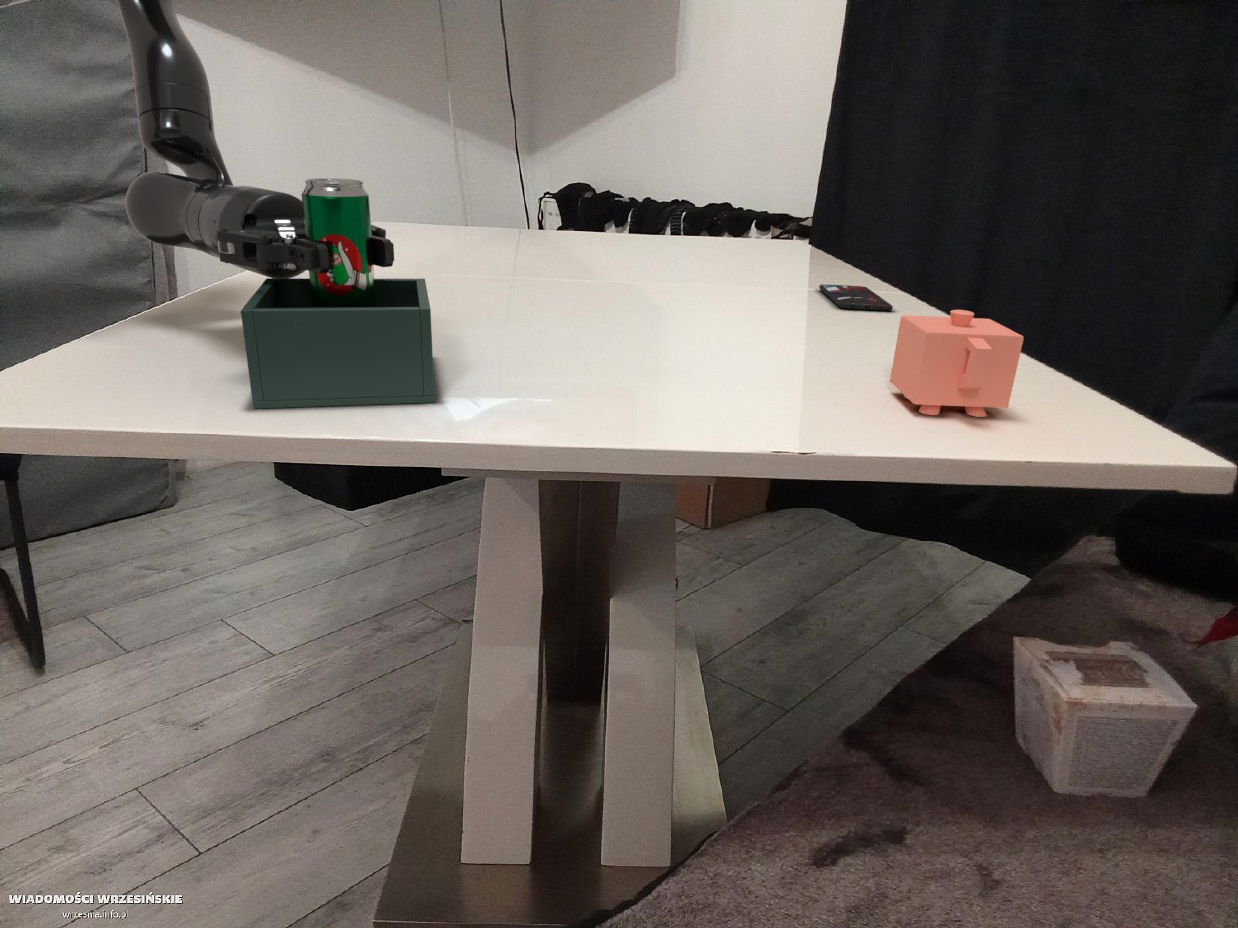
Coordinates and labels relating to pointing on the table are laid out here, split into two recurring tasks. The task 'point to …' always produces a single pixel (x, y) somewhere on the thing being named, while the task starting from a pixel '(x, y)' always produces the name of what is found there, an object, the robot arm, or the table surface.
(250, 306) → the bin
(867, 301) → the smartphone
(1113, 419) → the table surface
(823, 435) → the table surface
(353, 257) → the soda can
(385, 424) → the table surface
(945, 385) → the pink cube teapot
